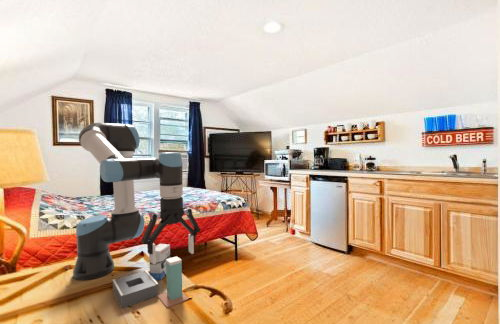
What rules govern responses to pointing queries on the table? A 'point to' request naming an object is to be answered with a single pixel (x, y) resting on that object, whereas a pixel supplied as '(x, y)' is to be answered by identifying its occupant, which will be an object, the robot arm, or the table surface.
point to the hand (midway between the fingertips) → (173, 257)
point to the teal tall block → (174, 277)
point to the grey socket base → (135, 288)
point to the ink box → (159, 261)
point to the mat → (169, 303)
